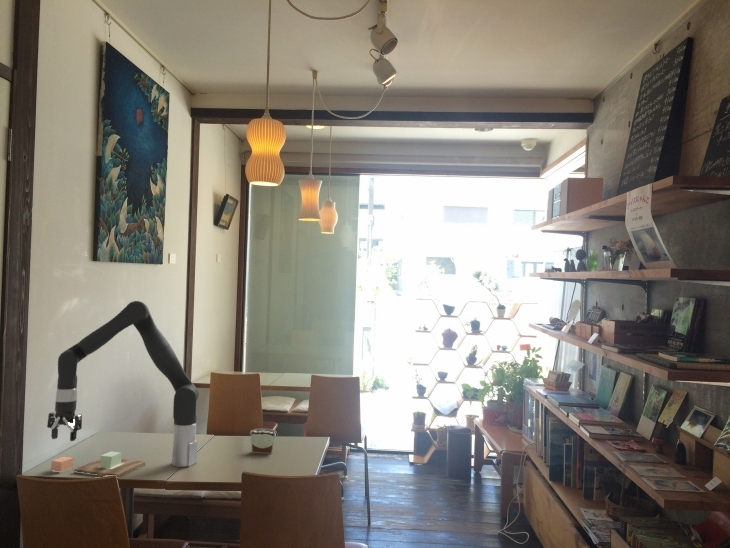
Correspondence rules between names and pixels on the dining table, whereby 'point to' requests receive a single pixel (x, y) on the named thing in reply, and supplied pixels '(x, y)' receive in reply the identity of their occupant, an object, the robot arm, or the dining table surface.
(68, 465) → the terracotta brick
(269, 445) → the food container
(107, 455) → the sage green brick
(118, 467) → the base board
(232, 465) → the dining table surface
